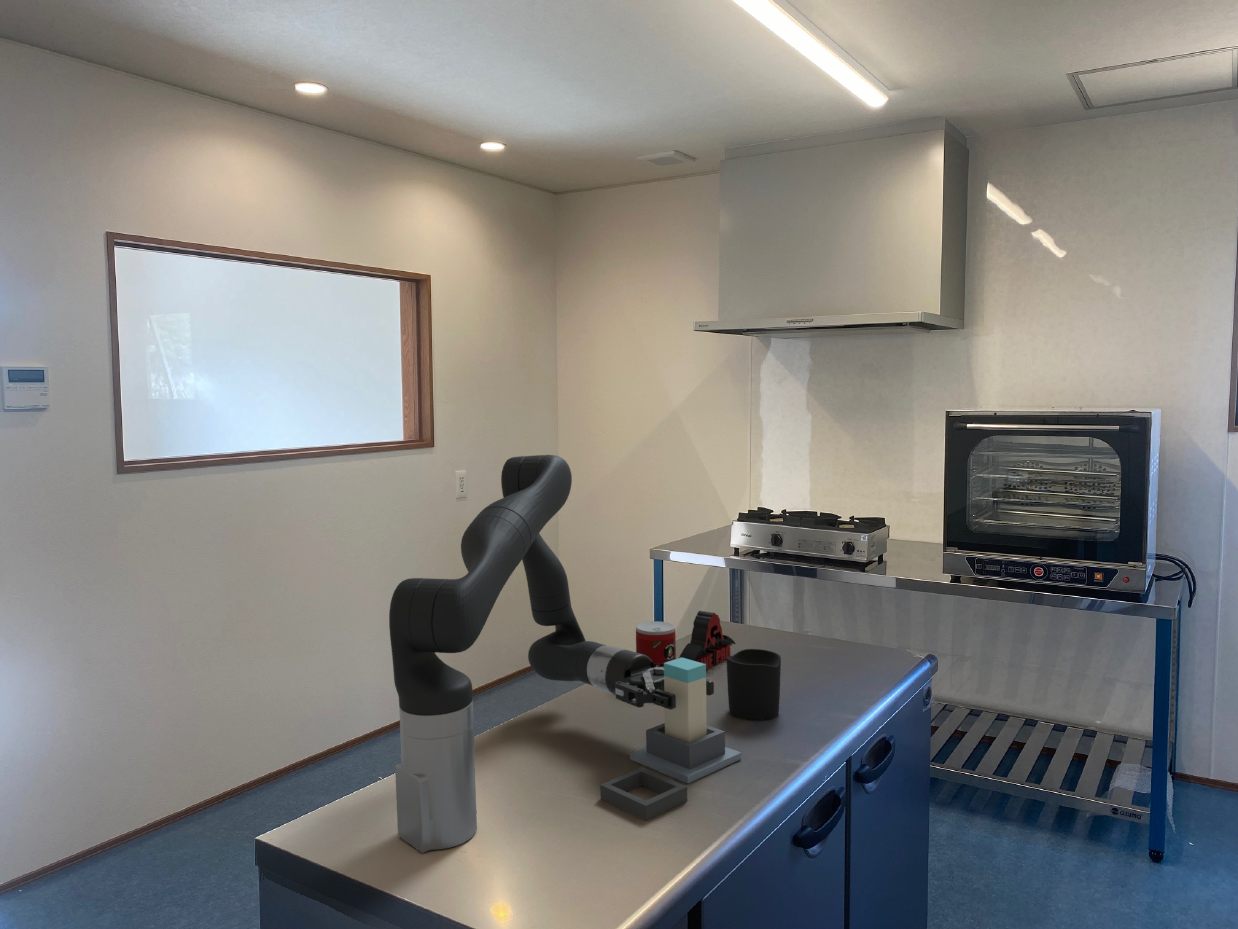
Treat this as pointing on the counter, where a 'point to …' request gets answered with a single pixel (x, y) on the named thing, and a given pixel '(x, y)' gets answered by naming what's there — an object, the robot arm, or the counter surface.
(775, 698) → the pen holder
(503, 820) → the counter surface
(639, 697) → the robot arm
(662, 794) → the gray square frame
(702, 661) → the logo sign
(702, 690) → the plug
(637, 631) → the canned food
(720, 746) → the port
